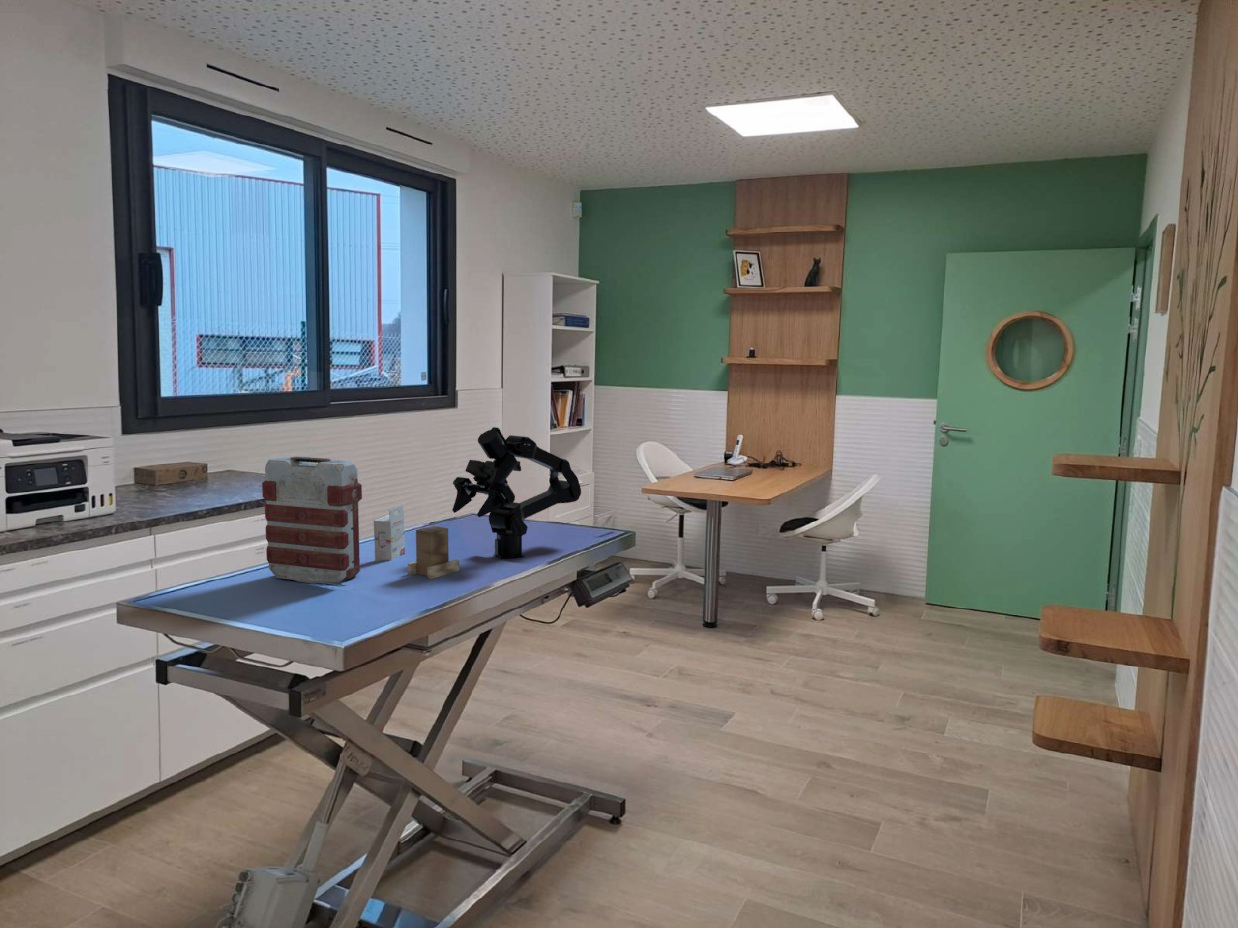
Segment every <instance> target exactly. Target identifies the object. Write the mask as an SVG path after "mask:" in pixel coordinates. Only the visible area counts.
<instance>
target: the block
mask: <svg viewBox="0 0 1238 928" xmlns="http://www.w3.org/2000/svg"><path fill="white" fill-rule="evenodd" d="M415 551H416V552H415V554H416V566H417V575H421V576H427V577H428V575H427V567H431V566H434V565H438V564H442V563H445V562H449V560H450V559H449V558H450V557H449V528H448V527H442V526H436V525H430V526H427V527H422V528H418V529H415Z"/></svg>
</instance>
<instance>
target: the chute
mask: <svg viewBox="0 0 1238 928" xmlns="http://www.w3.org/2000/svg"><path fill="white" fill-rule="evenodd" d="M459 571H460V560H459V559H453V560H450V561H449V562H445V563H442V564H438V565H434V566H431V567H427V575H428V576H427V579H428V580H432V579H435V578H439V577H443V576H446V575H449V574H453V573H456V572H459ZM416 574H417V566H416V561H412V562H408V563H407V575H410V576H413V575H416ZM417 575H418V574H417Z"/></svg>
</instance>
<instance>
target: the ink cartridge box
mask: <svg viewBox="0 0 1238 928" xmlns="http://www.w3.org/2000/svg"><path fill="white" fill-rule="evenodd" d="M396 511H397V513H396ZM373 537H374V539H373V540H374V541H373V542H374V562H375V563H377V562H381V561H393V560H395V559H396V558H399V557H400V556H405V555H406V543H405V542H406V540H405V513H404V506H403V504H401V505H397V506H395V507H393V508H391V509H389V510H388V514H387V515H385V516H383V517H380V518H377V519H375V520H373Z"/></svg>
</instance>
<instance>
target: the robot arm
mask: <svg viewBox="0 0 1238 928" xmlns="http://www.w3.org/2000/svg"><path fill="white" fill-rule="evenodd" d="M477 443H478V444H479V446H480V447H481V449H482V451H483V452H484V454H485V456H486V457H487V458H488V459H491V460H486V461H480V460H476V459H469V461H468V463H467V466H466V468H465V470H464V471H465V472H466V473H469V474H470V475H472V476H473V477H472V479H473V481H474V482H476V483H473V482H472V480H471V479H470V478H469V477H464V476H462V477H461V476H456V477H455V478H454V480H453V481H452V484H453V486H454V488H455V490H456V496H455V500H454V503H453V506H452V510H451V511H452V512H453V513H454V514H456V513H457V512H459V511H460V510H461V509H463V508H464V507H466V506H467V505H468V504H469V503H471V502H472V501H473V498H475V497H476V495H477V493H478V494H483V495H485V496H487V498H486V500H485V501H484V503H482V505H481V506H480V508H479V510H478V512H477V514H476V515H477V518H481V517H483V516H485V515H488V523H489V524H490V525H489V526H490V529H491V532H492V533H493V534H494V533H495V534H496V538H494V555H496V556H497V557H499V558H500V559H509V558H510V559H513V558H522V557H525V554H524V553H523V537H524V535H526V534H527V531H528V525H527V524H526V523H525V520H526V519H528V518H529V517H532V516H533V515H537V514H539V513H541V512H542V511H545V510H547V509H549V508H552V507H553V506H556V505H558V504H570V503H575V502H577V501H578V500H579V499H580V497H581V495H582V488H581V484H580V481H579V478H578V476H577V475H576V474H575V472H574V471H573V470H572V467H571V465H570V461H568V460H567V459H565V458H561V457H559V456H557V455H555V454H553V453H551V452H549V451H546V450H545V449H542V448H541V447H539V446H538V444H537V442H535V441H534V440H533V439H532V438H530V437H528V436H524V435H523V436H520V435H513V434H512V435H511V434H510V435H508V436H507V437H506V438H505V437H504V436H503V434H502V431H501V430H500V427H496V426H494V427H492V428H491V429H489V430H485V432H483V433H480V435H479V436H478V438H477ZM517 458H519V459H520V458H521V459H526V460H529V461H530V462H533V463H535V464H537V465H540V466H541V467H545V468H547V469H549V471H550V476H549V480H548V483H549V487H548V489H547V490H545V491H543V492H541V493H539V494H537V495H535V496H532V497H529V498H528V499H526V500H524V501H520V502H515V501H516V494H515V493H514V491H513V489H511V487H510V485H509V484H508V480H507V478H509V476H510V475H511V473H512V472H513V471H514V472H515V471H516V472H521V471H522V467H521V461H519V460H517ZM492 460H493V461H492ZM559 473H561V475H562V477H564V479H565V480H562V479H561V480H560V479H559Z"/></svg>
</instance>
